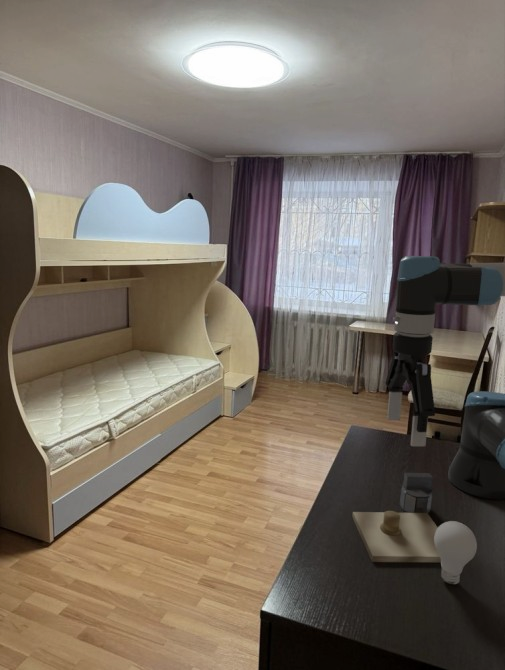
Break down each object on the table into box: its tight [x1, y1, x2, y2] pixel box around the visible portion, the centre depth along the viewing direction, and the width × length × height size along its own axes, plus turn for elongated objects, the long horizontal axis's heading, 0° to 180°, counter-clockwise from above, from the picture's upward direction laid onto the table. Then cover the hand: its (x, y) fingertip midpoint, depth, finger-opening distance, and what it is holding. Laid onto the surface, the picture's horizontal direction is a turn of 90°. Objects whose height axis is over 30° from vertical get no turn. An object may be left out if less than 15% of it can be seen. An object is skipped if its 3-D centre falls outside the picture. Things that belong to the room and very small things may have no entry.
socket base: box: [351, 510, 441, 563], centre depth 92 cm, size 16×14×4 cm
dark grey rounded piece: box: [399, 472, 434, 514], centre depth 103 cm, size 6×6×8 cm
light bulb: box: [434, 520, 478, 585], centre depth 80 cm, size 7×7×11 cm
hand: (404, 431), depth 99 cm, fingers open, 13 cm apart
